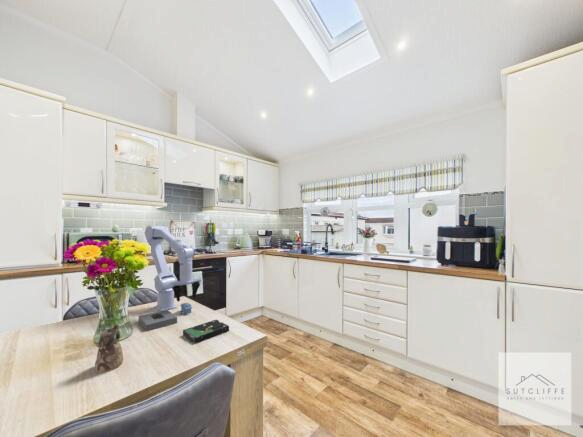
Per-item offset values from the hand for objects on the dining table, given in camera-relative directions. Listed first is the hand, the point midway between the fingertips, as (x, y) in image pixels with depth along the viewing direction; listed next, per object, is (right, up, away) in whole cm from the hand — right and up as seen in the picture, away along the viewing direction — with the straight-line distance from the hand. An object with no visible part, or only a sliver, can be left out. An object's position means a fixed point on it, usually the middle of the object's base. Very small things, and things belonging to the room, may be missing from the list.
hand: (186, 299), depth 125 cm
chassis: (-8, -6, -12) cm, 16 cm away
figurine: (-5, -6, -47) cm, 47 cm away
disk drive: (+18, -7, -24) cm, 31 cm away
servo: (0, -7, 0) cm, 7 cm away
